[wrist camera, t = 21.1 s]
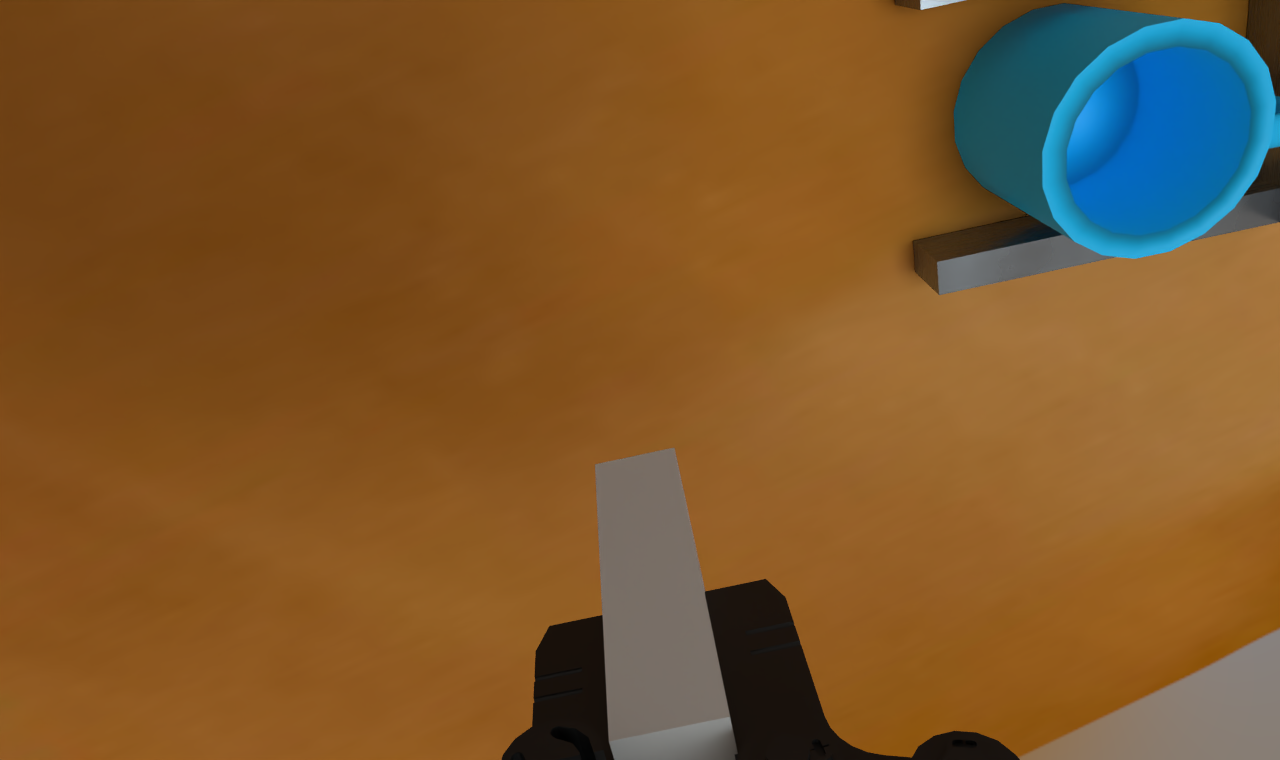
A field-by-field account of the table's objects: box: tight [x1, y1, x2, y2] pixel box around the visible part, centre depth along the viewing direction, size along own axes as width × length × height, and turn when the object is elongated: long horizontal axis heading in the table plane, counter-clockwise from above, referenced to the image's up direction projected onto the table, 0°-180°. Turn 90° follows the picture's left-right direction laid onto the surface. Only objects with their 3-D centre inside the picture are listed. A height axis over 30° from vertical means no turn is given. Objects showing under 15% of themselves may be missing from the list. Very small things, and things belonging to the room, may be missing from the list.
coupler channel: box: [895, 0, 1280, 295], centre depth 35 cm, size 13×16×9 cm
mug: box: [954, 3, 1280, 259], centre depth 36 cm, size 12×8×8 cm
